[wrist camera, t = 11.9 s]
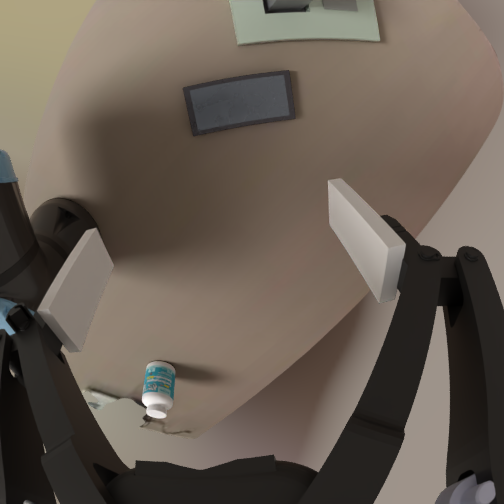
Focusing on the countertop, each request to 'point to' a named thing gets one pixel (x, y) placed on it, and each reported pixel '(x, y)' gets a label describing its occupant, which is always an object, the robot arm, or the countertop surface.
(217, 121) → the phone
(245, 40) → the outlet plate
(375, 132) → the countertop surface
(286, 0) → the brick
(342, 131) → the countertop surface
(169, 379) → the pill bottle
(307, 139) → the countertop surface
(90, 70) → the countertop surface
